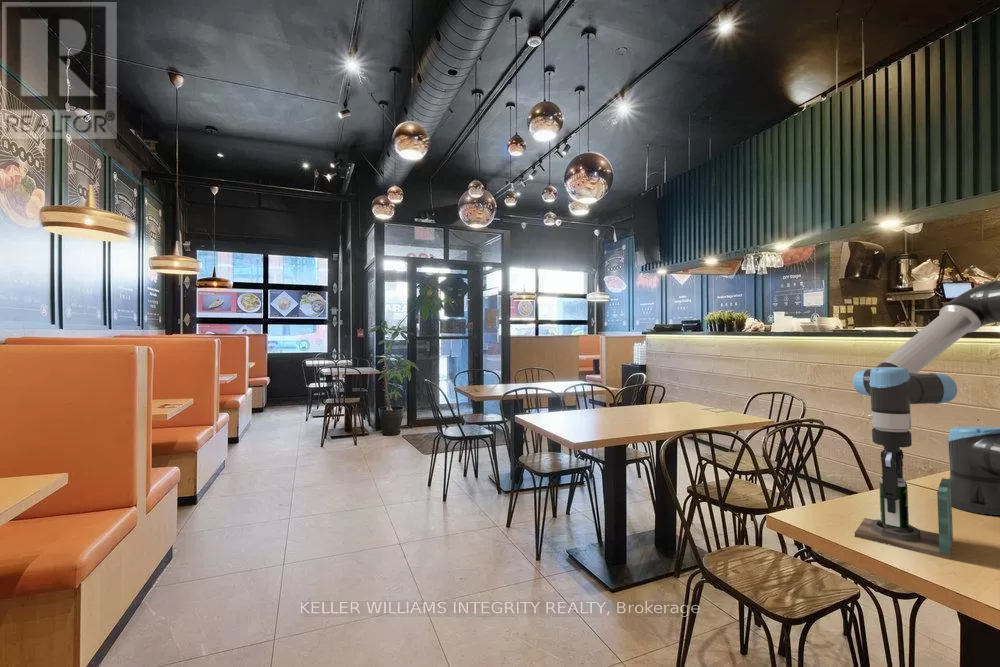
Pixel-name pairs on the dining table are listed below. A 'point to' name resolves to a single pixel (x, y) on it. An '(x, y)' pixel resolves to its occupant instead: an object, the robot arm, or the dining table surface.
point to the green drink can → (902, 505)
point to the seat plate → (913, 536)
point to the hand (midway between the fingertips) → (894, 521)
